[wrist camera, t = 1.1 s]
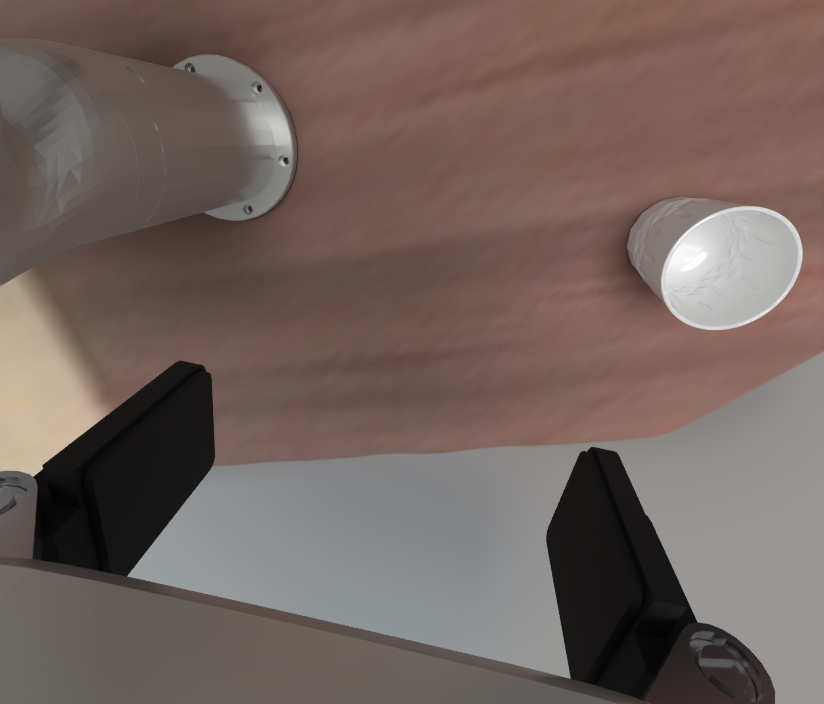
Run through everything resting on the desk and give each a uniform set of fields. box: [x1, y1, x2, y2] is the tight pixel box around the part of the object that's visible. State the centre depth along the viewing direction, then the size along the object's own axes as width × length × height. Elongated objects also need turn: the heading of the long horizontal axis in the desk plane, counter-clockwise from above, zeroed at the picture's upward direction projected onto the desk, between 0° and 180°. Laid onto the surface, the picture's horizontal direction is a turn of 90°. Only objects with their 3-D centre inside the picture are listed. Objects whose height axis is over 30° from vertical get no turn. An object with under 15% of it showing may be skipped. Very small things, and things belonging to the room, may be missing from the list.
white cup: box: [627, 196, 803, 330], centre depth 33 cm, size 8×8×10 cm
